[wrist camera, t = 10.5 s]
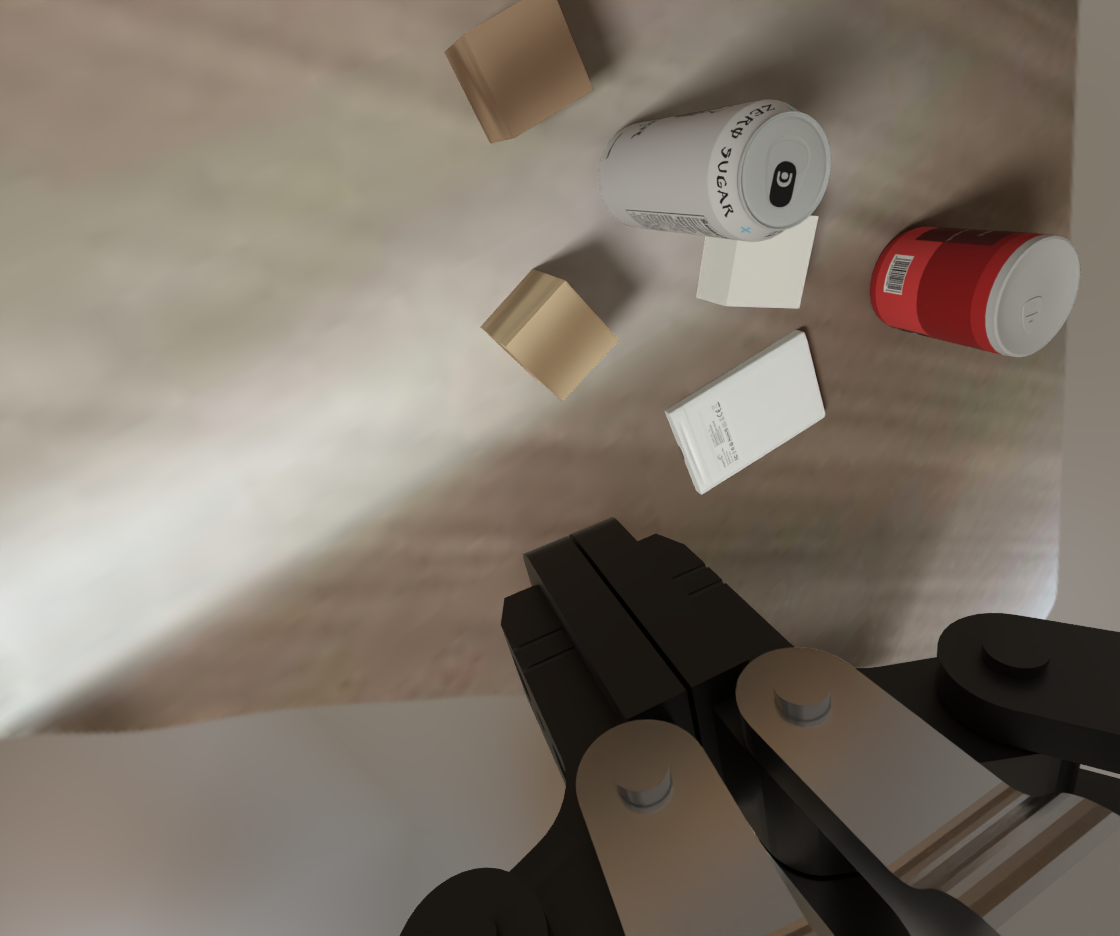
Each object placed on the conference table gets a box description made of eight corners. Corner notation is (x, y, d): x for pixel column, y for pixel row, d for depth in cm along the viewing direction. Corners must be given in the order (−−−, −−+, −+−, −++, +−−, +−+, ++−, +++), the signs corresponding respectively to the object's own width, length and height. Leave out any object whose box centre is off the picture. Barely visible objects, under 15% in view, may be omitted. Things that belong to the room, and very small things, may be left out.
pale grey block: (708, 207, 44) (742, 209, 41) (780, 214, 46) (818, 216, 43) (694, 297, 46) (726, 306, 43) (763, 299, 49) (799, 308, 45)
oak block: (480, 326, 42) (505, 346, 37) (532, 268, 41) (565, 280, 36) (532, 376, 44) (562, 401, 39) (582, 321, 44) (619, 339, 39)
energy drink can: (684, 130, 41) (857, 106, 29) (669, 230, 44) (823, 249, 31) (598, 116, 39) (743, 83, 26) (586, 222, 42) (716, 239, 29)
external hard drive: (813, 412, 55) (692, 488, 54) (791, 327, 51) (660, 408, 49) (826, 418, 54) (703, 497, 52) (805, 331, 49) (671, 415, 48)
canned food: (879, 345, 54) (1002, 380, 44) (855, 261, 50) (985, 279, 40) (949, 293, 54) (1086, 316, 45) (931, 205, 50) (1078, 210, 41)
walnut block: (444, 52, 35) (463, 34, 31) (520, 7, 36) (550, -17, 31) (489, 143, 38) (513, 138, 34) (560, 99, 38) (593, 89, 34)
